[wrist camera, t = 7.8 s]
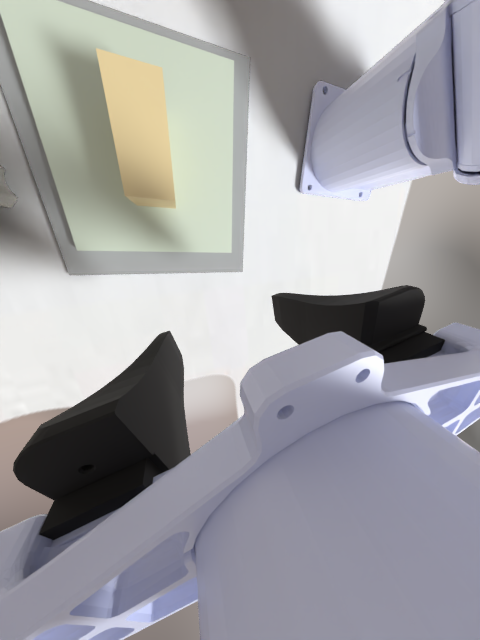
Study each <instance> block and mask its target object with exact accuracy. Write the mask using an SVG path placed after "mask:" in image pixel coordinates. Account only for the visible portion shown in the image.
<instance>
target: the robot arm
mask: <svg viewBox="0 0 480 640" xmlns="http://www.w3.org/2000/svg"><path fill="white" fill-rule="evenodd" d="M444 1H445V2H444V3H443V4H442V5H441V6H440V7H439V8H438V9H437V10H436V11H435V12H434V13H433V14H431V15H430V16H429V17H428V18H427V19H426V20H425V21H424V22H422V23H421V24H420V25H419V26H418V27H417V28H416V29H414V30H413V31H412V32H411V33H410V34H409V35H408V36H407V37H405V38H404V39H403V40H402V41H401V42H400V43H399V44H397V45H396V46H395V47H394V48H393V49H392V50H391V51H390V52H388V53H387V54H386V55H385V56H384V57H383V58H382V59H380V60H379V61H378V62H377V63H376V64H375V65H374V66H373V67H371V68H370V69H369V70H368V71H367V72H366V73H365V74H363V75H362V76H361V77H360V78H359V79H358V80H357V81H356V82H354V83H353V84H352V85H351V86H350V87H349V88H348V89H343V88H340V87H338V86H335V85H332V84H329V83H326V82H323V81H319V82H317V83H316V85H315V86H314V89H313V95H312V102H311V109H310V116H309V124H308V131H307V138H306V145H305V152H304V159H303V167H302V174H301V181H300V192H301V193H303V194H311V195H319V196H327V197H335V198H342V199H350V200H358V201H366V200H368V199H369V197H370V194H371V190H374V189H378V188H382V187H386V186H390V185H394V184H398V183H402V182H406V181H410V180H414V179H418V178H422V177H426V176H429V175H436V174H440V173H444V172H448V171H452V170H453V173H454V178H455V179H456V180H457V181H458V182H460V183H463V184H469V185H480V0H444ZM323 90H324V92H325V94H323ZM308 186H309V188H310V189H309V190H308ZM272 301H273V308H274V315H275V321H276V322H277V324H278V325H279V326H280V327H281V329H282V330H283V331H284V332H285V333H286V334H288V335H289V336H290V337H291V338H292V339H293V340H294V341H295V342H296V343H298V344H299V345H298V346H295V347H293V348H290V349H288V350H285V351H283V352H280V353H278V354H275V355H273V356H270V357H268V358H266V359H264V360H262V361H261V362H259V363H257V364H256V365H254V366H253V367H251V368H250V369H249V370H248V372H247V373H246V375H245V376H244V378H243V379H242V381H241V383H240V397H241V400H242V403H243V406H244V415H243V416H242V417H240V418H239V419H238V420H237V421H235V422H234V423H232V424H231V425H230V426H229V427H227V428H226V429H224V430H223V431H222V432H220V433H219V434H218V435H216V436H215V437H214V438H212V439H211V440H210V441H209V442H207V443H206V444H205V445H203V446H202V447H200V448H199V449H198V450H196V451H195V452H194V453H193V454H190V448H189V442H188V435H187V427H186V420H185V410H184V392H183V391H184V366H183V359H182V355H181V353H180V350H179V348H178V346H177V344H176V342H175V340H174V338H173V336H172V334H171V332H170V331H167V332H164V333H161V334H159V335H158V336H157V337H156V338H155V339H154V341H153V342H152V343H151V344H150V345H149V346H148V347H147V349H146V350H145V351H144V352H143V353H142V354H141V355H140V356H139V357H138V358H137V359H136V360H135V361H134V362H133V363H132V364H131V365H130V366H129V367H128V368H127V369H126V370H125V371H123V372H122V373H121V374H120V375H119V376H117V377H116V378H115V379H113V380H112V381H111V382H109V383H108V384H107V385H105V386H104V387H103V388H101V389H100V390H99V391H97V392H96V393H94V394H93V395H91V396H90V397H88V398H86V399H85V400H83V401H82V402H80V403H78V404H77V405H75V406H74V407H72V408H70V409H68V410H67V411H65V412H63V413H61V414H60V415H58V416H56V417H54V418H53V419H51V420H49V421H47V422H45V423H43V424H41V425H40V426H39V428H38V429H37V431H36V432H35V433H34V435H33V436H32V438H31V439H30V440H29V442H28V443H27V444H26V446H25V447H24V448H23V450H22V451H21V452H20V454H19V455H18V457H17V459H16V460H15V462H14V467H13V471H14V473H15V475H16V477H17V478H18V480H19V481H20V482H22V483H23V484H24V485H26V486H28V487H30V488H31V489H33V490H35V491H37V492H39V493H41V494H43V495H45V496H47V497H49V498H51V499H53V500H54V502H53V505H52V507H51V509H50V511H49V513H48V514H42V515H37V516H33V517H31V518H29V519H26V520H24V521H22V522H20V523H18V524H16V525H14V526H11V527H9V528H7V529H5V530H2V531H0V640H123V639H125V638H127V637H129V636H131V635H133V634H134V633H137V632H139V631H140V630H142V629H144V628H146V627H148V626H150V625H152V624H154V623H156V622H158V621H160V620H162V619H164V618H165V617H167V616H169V615H171V614H173V613H175V612H177V611H179V610H181V609H182V608H185V607H187V606H189V605H190V604H193V603H195V602H196V601H198V609H199V628H200V640H480V452H478V451H477V450H475V449H474V448H472V447H471V446H470V445H468V444H467V443H465V442H464V441H462V440H461V439H460V438H459V437H457V436H456V435H458V434H459V433H460V432H462V431H463V430H464V429H466V428H467V427H468V426H470V425H471V424H472V423H474V422H475V421H476V420H478V419H479V418H480V329H477V328H473V327H470V326H467V325H463V324H460V323H452V324H450V325H448V326H445V327H443V328H441V329H439V330H437V331H436V332H435V333H434V334H433V335H431V334H429V333H426V332H425V331H426V330H427V328H426V327H425V326H422V325H419V320H420V317H421V314H422V311H423V308H424V303H425V296H424V294H423V291H422V290H421V289H419V288H417V287H413V286H408V285H406V286H399V287H394V288H390V289H385V290H380V291H374V292H368V293H361V294H352V295H339V296H317V295H303V294H292V293H278V294H276V295H273V296H272Z"/></svg>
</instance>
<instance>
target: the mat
mask: <svg viewBox="0 0 480 640" xmlns="http://www.w3.org/2000/svg"><path fill="white" fill-rule="evenodd" d="M58 1H60V2H63V3H66V4H69V5H72V6H75V7H78V8H81V9H84V10H87V11H90V12H93V13H96V14H99V15H102V16H104V17H107V18H110V19H113V20H116V21H119V22H122V23H125V24H128V25H131V26H134V27H137V28H140V29H143V30H146V31H148V32H151V33H154V34H157V35H160V36H163V37H166V38H169V39H172V40H175V41H178V42H181V43H184V44H187V45H190V46H192V47H195V48H198V49H201V50H204V51H207V52H210V53H213V54H216V55H219V56H222V57H225V58H228V59H231V60H233V61H234V102H233V180H232V253H208V252H141V251H77V249H76V246H75V243H74V240H73V237H72V234H71V231H70V228H69V224H68V221H67V218H66V215H65V212H64V209H63V206H62V203H61V200H60V197H59V193H58V190H57V187H56V184H55V181H54V178H53V175H52V172H51V169H50V166H49V163H48V159H47V156H46V153H45V150H44V147H43V144H42V141H41V138H40V135H39V132H38V129H37V125H36V122H35V119H34V116H33V113H32V110H31V107H30V104H29V101H28V98H27V94H26V91H25V88H24V85H23V82H22V79H21V76H20V73H19V70H18V67H17V64H16V60H15V57H14V54H13V51H12V48H11V45H10V42H9V39H8V36H7V33H6V29H5V26H4V23H3V20H2V17H1V14H0V85H1V88H2V91H3V93H4V96H5V99H6V102H7V104H8V107H9V110H10V113H11V115H12V118H13V121H14V124H15V126H16V129H17V132H18V135H19V137H20V140H21V143H22V146H23V149H24V151H25V154H26V157H27V160H28V162H29V165H30V168H31V171H32V173H33V176H34V179H35V182H36V184H37V187H38V190H39V193H40V196H41V198H42V201H43V204H44V207H45V209H46V212H47V215H48V218H49V220H50V223H51V226H52V229H53V231H54V234H55V237H56V240H57V243H58V245H59V248H60V251H61V254H62V256H63V259H64V262H65V265H66V267H67V270H68V273H69V275H109V274H158V273H208V272H243V245H244V217H245V189H246V162H247V134H248V107H249V79H250V57H248V56H245V55H242V54H239V53H236V52H233V51H231V50H228V49H225V48H222V47H219V46H216V45H214V44H211V43H208V42H205V41H202V40H199V39H197V38H194V37H191V36H188V35H185V34H182V33H180V32H177V31H174V30H171V29H168V28H165V27H162V26H160V25H157V24H154V23H151V22H148V21H145V20H143V19H140V18H137V17H134V16H131V15H128V14H126V13H123V12H120V11H117V10H114V9H111V8H109V7H106V6H103V5H100V4H97V3H94V2H92V1H89V0H58Z"/></svg>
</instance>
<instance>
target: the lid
mask: <svg viewBox="0 0 480 640" xmlns="http://www.w3.org/2000/svg"><path fill="white" fill-rule="evenodd" d="M0 14H1V17H2V20H3V23H4V26H5V29H6V33H7V36H8V39H9V42H10V45H11V48H12V51H13V54H14V57H15V60H16V64H17V67H18V70H19V73H20V76H21V79H22V82H23V85H24V88H25V91H26V94H27V98H28V101H29V104H30V107H31V110H32V113H33V116H34V119H35V122H36V125H37V129H38V132H39V135H40V138H41V141H42V144H43V147H44V150H45V153H46V156H47V159H48V163H49V166H50V169H51V172H52V175H53V178H54V181H55V184H56V187H57V190H58V193H59V197H60V200H61V203H62V206H63V209H64V212H65V215H66V218H67V221H68V224H69V228H70V231H71V234H72V237H73V240H74V243H75V246H76V249H77V251H141V252H208V253H232V180H233V102H234V61H233V60H231V59H228V58H225V57H222V56H219V55H216V54H213V53H210V52H207V51H204V50H201V49H198V48H195V47H192V46H190V45H187V44H184V43H181V42H178V41H175V40H172V39H169V38H166V37H163V36H160V35H157V34H154V33H151V32H148V31H146V30H143V29H140V28H137V27H134V26H131V25H128V24H125V23H122V22H119V21H116V20H113V19H110V18H107V17H104V16H102V15H99V14H96V13H93V12H90V11H87V10H84V9H81V8H78V7H75V6H72V5H69V4H66V3H63V2H60V1H58V0H0Z"/></svg>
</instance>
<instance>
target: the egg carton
mask: <svg viewBox="0 0 480 640" xmlns="http://www.w3.org/2000/svg"><path fill="white" fill-rule="evenodd" d="M4 173H5V169H4V168H3V167H2V166H1V165H0V206H2V207H7V208H12V207H13V206H14V204H15V202H16V201H17V199H18V197H17V196H16V195H14V194H13V193H12V191H11V190H10V189H9V187H8V186H7V184H6V182H5V178H4Z"/></svg>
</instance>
